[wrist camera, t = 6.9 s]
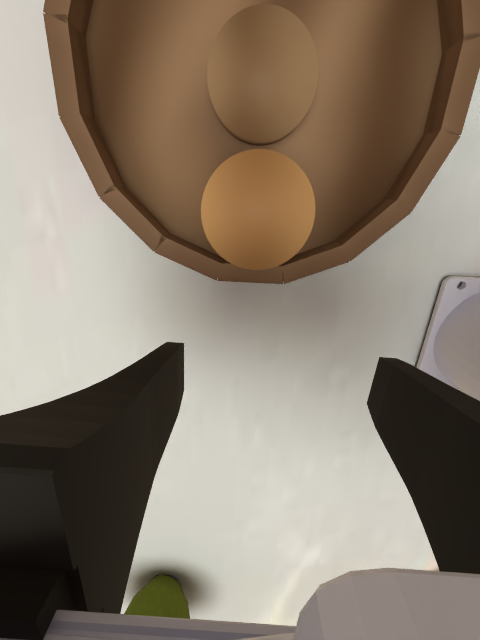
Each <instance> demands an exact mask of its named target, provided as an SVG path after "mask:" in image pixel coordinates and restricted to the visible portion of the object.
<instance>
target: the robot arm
mask: <svg viewBox="0 0 480 640" xmlns="http://www.w3.org/2000/svg"><path fill="white" fill-rule="evenodd" d="M460 282H462V284H461V286H460V287H459V288H457V285H458V283H460ZM457 389H460V390H461V391H462V392H461V391H459V390H457ZM183 392H184V343H174V342H166V343H165V344H163V345H161V346H160V347H158V348H157V349H155V350H154V351H152V352H151V353H149V354H148V355H146V356H145V357H143V358H141V359H140V360H138V361H137V362H135V363H134V364H132V365H130V366H128V367H127V368H125V369H123V370H121V371H120V372H118V373H116V374H114V375H113V376H111V377H109V378H107V379H105V380H103V381H101V382H99V383H96V384H94V385H92V386H90V387H88V388H85V389H83V390H81V391H78V392H75V393H72V394H70V395H67V396H64V397H62V398H59V399H56V400H53V401H51V402H48V403H44V404H41V405H38V406H35V407H31V408H28V409H24V410H21V411H17V412H13V413H9V414H5V415H1V416H0V640H480V277H466V276H449V277H447V278H445V279H444V280H443V282H442V285H441V288H440V291H439V295H438V298H437V301H436V305H435V308H434V311H433V314H432V318H431V321H430V324H429V328H428V331H427V334H426V337H425V341H424V344H423V347H422V351H421V354H420V357H419V360H418V364H417V367H414V366H412V365H410V364H408V363H406V362H404V361H402V360H399V359H396V358H383V357H379V361H378V364H377V368H376V372H375V375H374V379H373V383H372V386H371V390H370V394H369V397H368V401H367V405H368V408H369V411H370V414H371V417H372V420H373V422H374V425H375V428H376V430H377V432H378V434H379V436H380V438H381V439H382V441H383V443H384V445H385V447H386V449H387V451H388V453H389V455H390V457H391V458H392V460H393V462H394V464H395V466H396V468H397V470H398V472H399V474H400V475H401V477H402V479H403V481H404V483H405V485H406V487H407V489H408V491H409V493H410V495H411V497H412V500H413V502H414V505H415V507H416V510H417V512H418V514H419V517H420V519H421V522H422V524H423V527H424V529H425V532H426V535H427V537H428V540H429V543H430V545H431V548H432V551H433V553H434V556H435V559H436V561H437V564H438V567H439V570H440V571H426V570H412V569H397V568H381V569H370V570H359V571H350V572H348V573H345V574H343V575H341V576H339V577H337V578H334V579H332V580H330V581H328V582H326V583H323V584H321V585H320V586H319V587H318V589H317V590H316V591H315V593H314V594H313V595H312V597H311V598H310V599H309V600H308V602H307V603H306V604H305V606H304V607H303V609H302V610H301V612H300V614H299V618H298V622H297V626H284V625H270V624H256V623H241V622H227V621H212V620H198V619H184V618H169V617H155V616H140V615H126V614H120V612H121V608H122V603H123V599H124V594H125V590H126V586H127V582H128V577H129V573H130V569H131V565H132V561H133V557H134V553H135V549H136V545H137V541H138V537H139V533H140V529H141V525H142V521H143V517H144V513H145V510H146V506H147V502H148V499H149V495H150V491H151V488H152V484H153V480H154V477H155V474H156V471H157V468H158V465H159V463H160V460H161V458H162V455H163V452H164V450H165V447H166V445H167V442H168V440H169V437H170V434H171V432H172V429H173V427H174V424H175V421H176V419H177V416H178V413H179V409H180V405H181V401H182V397H183Z"/></svg>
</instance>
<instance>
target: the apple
mask: <svg viewBox="0 0 480 640" xmlns="http://www.w3.org/2000/svg"><path fill="white" fill-rule="evenodd" d="M124 614H126V615H140V616H155V617H169V618H184V619H190V616H189V608H188V602H187V600H186V598H185V595H184V593H183V591H182V589H181V586H180V584H179V583H178V581H177V580H175V579H174V578H172V577H169V576H166V575H157V576H156V577H155V578H153V579H152V580H151V581H150V582H149V583H148V584H147V585H146V586H145V587H144V588H143V589H142V590H140V591H139V592H138V593H137V594H136V595H135V596H134V597H133V599H132V601H131V603H130V604H129V606H128V608H127V610H126V612H125V613H124Z"/></svg>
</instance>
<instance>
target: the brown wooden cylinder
mask: <svg viewBox="0 0 480 640" xmlns="http://www.w3.org/2000/svg"><path fill="white" fill-rule="evenodd" d="M201 219H202V225H203V228H204V232H205V234H206V237H207V239H208V241H209V242H210V244H211V246H212V247H213V248H214V250H215V251H216V252H217V253H218V254H219V255H220V256H221V257H222V258H224V259H225V260H226V261H228V262H230V263H231V264H233V265H235V266H238V267H241V268H244V269H250V270H264V269H270V268H273V267H276V266H279V265H281V264H283V263H285V262H286V261H288V260H289V259H291V258H292V257H293V256H294V255H295V254H297V253H298V252H299V250H300V249H301V248H302V247H303V246H304V244H305V242H306V241H307V239H308V237H309V235H310V233H311V230H312V227H313V224H314V219H315V198H314V193H313V189H312V186H311V184H310V182H309V179H308V178H307V176H306V174H305V173H304V171H303V170H302V169H301V168H300V167H299V165H297V164H296V163H295V162H294V161H293V160H292V159H290V158H288V157H287V156H285V155H283V154H281V153H279V152H276V151H272V150H267V149H252V150H246V151H243V152H240V153H238V154H235V155H233V156H231V157H230V158H228V159H227V160H225V161H224V162H223V163H222V164H221V165H220V166H219V167H218V168H217V169H216V170H215V171H214V173H213V174H212V176H211V177H210V179H209V181H208V183H207V185H206V187H205V190H204V193H203V197H202V202H201Z"/></svg>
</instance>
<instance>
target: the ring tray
mask: <svg viewBox="0 0 480 640" xmlns="http://www.w3.org/2000/svg"><path fill="white" fill-rule="evenodd" d="M43 11H44V12H45V13H46V14H43V15H44V21H45V28H46V34H47V41H48V47H49V54H50V60H51V67H52V73H53V80H54V86H55V93H56V99H57V106H58V113H59V116H61V117H60V119H61V121H62V123H63V125H64V127H65V129H66V131H67V133H68V135H69V138H70V140H71V142H72V144H73V146H74V148H75V150H76V152H77V154H78V156H79V158H80V160H81V162H82V164H83V166H84V168H85V170H86V172H87V174H88V176H89V178H90V180H91V182H92V184H93V186H94V188H95V190H96V192H97V194H98V196H99V197H100V199H101V200H102V201H103V202H104V203H105V204H106V205H107V206H108V207H109V208H110V209H111V210H112V211H113V212H114V213H115V214H116V215H117V216H118V217H119V218H120V219H121V220H122V221H123V222H124V223H125V224H126V225H127V226H128V227H129V228H130V229H131V230H132V231H133V232H134V233H135V234H136V235H137V236H138V237H139V238H141V239H142V240H143V241H144V242H145V243H146V244H147V245H148V246H149V247H150V248H151V249H152V250H153V251H155V250H156V251H155V253H157V254H159V255H162V256H164V257H166V258H168V259H170V260H173V261H175V262H177V263H179V264H181V265H184V266H186V267H188V268H190V269H192V270H195V271H197V272H199V273H201V274H203V275H206V276H208V277H210V278H212V279H214V280H217V278H218V281H232V282H253V283H274V284H283V281H284V284H285V283H288V282H291V281H294V280H297V279H300V278H303V277H306V276H309V275H312V274H315V273H318V272H321V271H324V270H326V269H329V268H332V267H335V266H338V265H341V264H344V263H347V262H349V260H350V261H351V260H352V259H354V258H355V257H356V256H357V255H359V254H360V253H361V252H362V251H364V250H365V249H366V248H367V247H369V246H370V245H371V244H372V243H374V242H375V241H376V240H377V239H379V238H380V237H381V236H382V235H384V234H385V233H386V232H387V231H389V230H390V229H391V228H392V227H394V226H395V225H396V224H397V223H399V222H400V221H401V220H402V219H404V218H405V217H406V216H407V215H408V214H410V211H411V212H412V210H413V209H414V207H415V206H416V204H417V203H418V201H419V199H420V198H421V196H422V195H423V193H424V192H425V190H426V189H427V187H428V186H429V184H430V182H431V181H432V179H433V178H434V176H435V175H436V173H437V172H438V170H439V169H440V167H441V165H442V164H443V162H444V161H445V159H446V158H447V156H448V155H449V153H450V152H451V150H452V148H453V147H454V145H455V144H456V142H457V141H458V139H459V138H460V136H459V135H461V133H462V130H463V126H464V122H465V119H466V115H467V111H468V108H469V104H470V101H471V97H472V93H473V90H474V86H475V82H476V79H477V75H478V72H479V68H480V0H45V4H44V10H43ZM252 149H267V150H272V151H276V152H279V153H281V154H283V155H285V156H287V157H288V158H290V159H292V160H293V161H294V162H295V163H296V164H297V165H299V167H300V168H301V169H302V170H303V171H304V173H305V174H306V176H307V178H308V179H309V182H310V184H311V186H312V189H313V193H314V198H315V219H314V224H313V227H312V230H311V233H310V235H309V237H308V239H307V241H306V242H305V244H304V246H303V247H302V248H301V249H300V250H299V252H298V253H297V254H295V255H294V256H293V257H292V258H291V259H289V260H288V261H286V262H285V263H283V264H281V265H279V266H276V267H273V268H270V269H264V270H250V269H244V268H241V267H238V266H235V265H233V264H231V263H230V262H228V261H226V260H225V259H224V258H222V257H221V256H220V255H219V254H218V253H217V252H216V251H215V250H214V248H213V247H212V246H211V244H210V242H209V241H208V239H207V237H206V234H205V232H204V228H203V225H202V219H201V202H202V197H203V193H204V190H205V187H206V185H207V183H208V181H209V179H210V177H211V176H212V174H213V173H214V171H215V170H216V169H217V168H218V167H219V166H220V165H221V164H222V163H223V162H224V161H225V160H227V159H228V158H230V157H231V156H233V155H235V154H238V153H240V152H243V151H246V150H252Z"/></svg>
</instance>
